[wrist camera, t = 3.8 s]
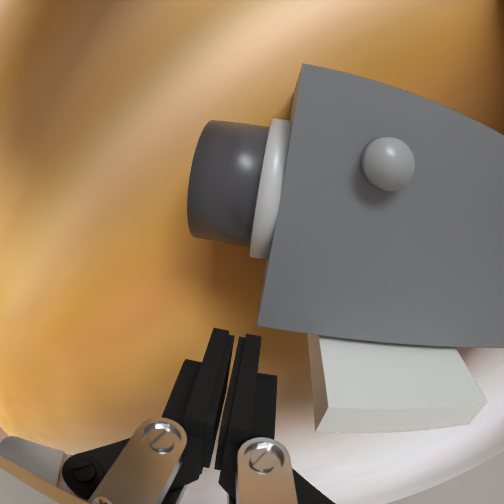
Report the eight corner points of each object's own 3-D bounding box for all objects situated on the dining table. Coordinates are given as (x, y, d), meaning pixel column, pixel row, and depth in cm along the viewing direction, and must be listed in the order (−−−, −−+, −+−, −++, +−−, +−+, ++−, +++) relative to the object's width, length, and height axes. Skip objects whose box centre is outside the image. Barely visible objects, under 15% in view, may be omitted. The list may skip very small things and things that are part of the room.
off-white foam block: (422, 301, 15) (487, 401, 8) (409, 331, 16) (459, 435, 9) (310, 283, 16) (328, 407, 8) (300, 318, 16) (308, 443, 9)
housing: (541, 183, 13) (606, 210, 7) (493, 324, 17) (536, 379, 11) (232, 83, 13) (199, 47, 7) (207, 285, 17) (172, 361, 11)
